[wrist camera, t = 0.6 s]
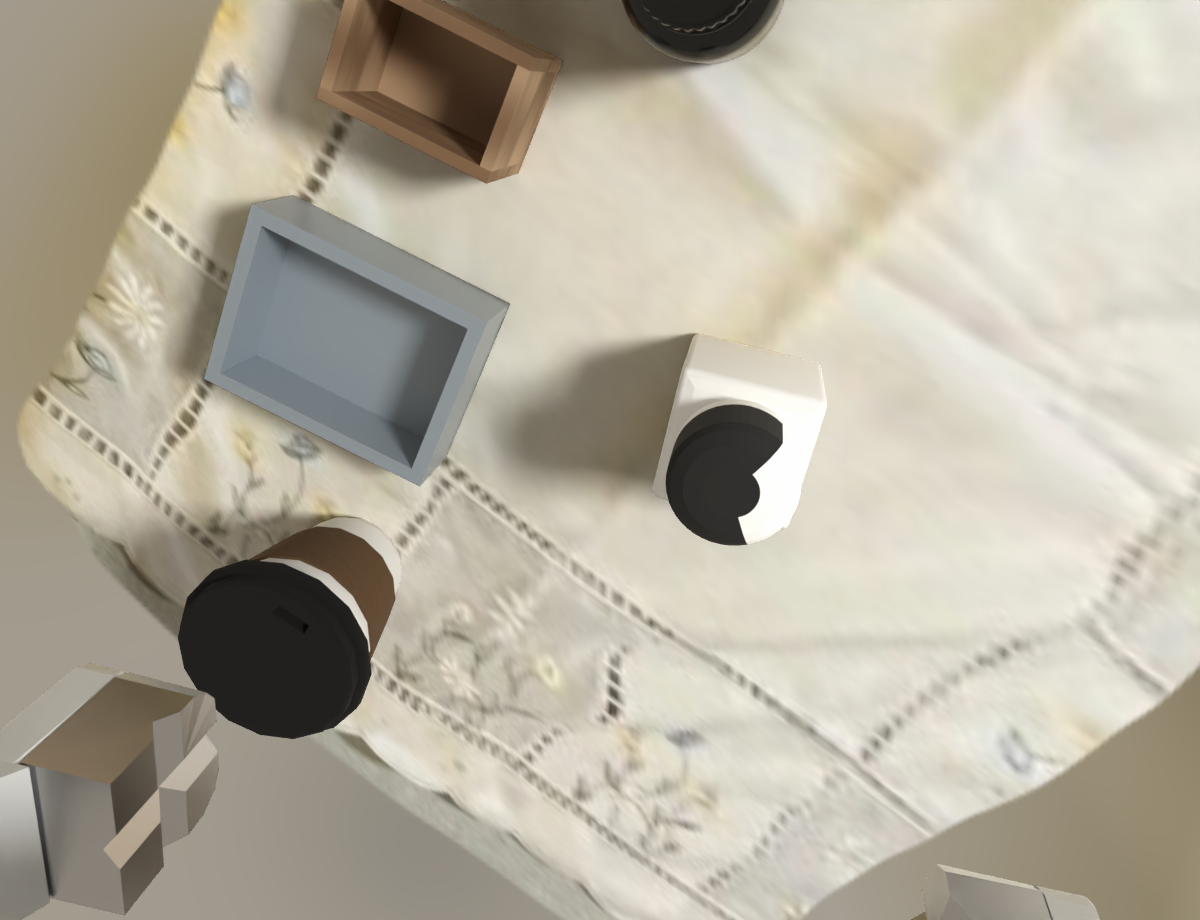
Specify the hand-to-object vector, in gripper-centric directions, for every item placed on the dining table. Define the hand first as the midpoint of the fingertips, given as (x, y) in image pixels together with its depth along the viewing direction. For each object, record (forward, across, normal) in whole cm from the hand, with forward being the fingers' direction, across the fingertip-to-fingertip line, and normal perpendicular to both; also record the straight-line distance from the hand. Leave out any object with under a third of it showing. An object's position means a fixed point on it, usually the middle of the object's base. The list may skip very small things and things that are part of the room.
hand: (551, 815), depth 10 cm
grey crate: (+41, +19, +8) cm, 46 cm away
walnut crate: (+42, +15, -6) cm, 45 cm away
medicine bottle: (+42, -2, +9) cm, 43 cm away
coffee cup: (+42, +20, +24) cm, 52 cm away
